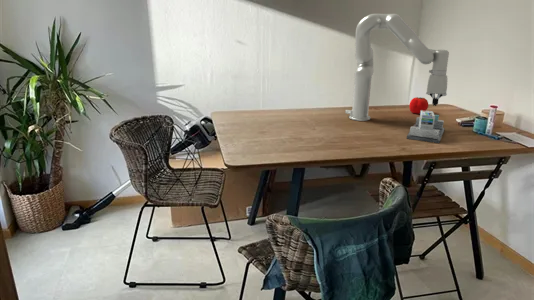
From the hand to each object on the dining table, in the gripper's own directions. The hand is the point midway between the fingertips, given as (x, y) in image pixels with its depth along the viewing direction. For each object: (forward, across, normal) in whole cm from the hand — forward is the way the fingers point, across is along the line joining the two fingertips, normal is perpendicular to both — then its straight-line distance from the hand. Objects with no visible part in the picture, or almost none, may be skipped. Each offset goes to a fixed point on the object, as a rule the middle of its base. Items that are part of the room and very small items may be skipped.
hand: (434, 105), depth 241 cm
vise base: (+12, -1, -20) cm, 23 cm away
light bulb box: (+10, -1, -22) cm, 25 cm away
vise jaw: (+10, -1, -8) cm, 13 cm away
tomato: (+12, -12, +26) cm, 31 cm away
